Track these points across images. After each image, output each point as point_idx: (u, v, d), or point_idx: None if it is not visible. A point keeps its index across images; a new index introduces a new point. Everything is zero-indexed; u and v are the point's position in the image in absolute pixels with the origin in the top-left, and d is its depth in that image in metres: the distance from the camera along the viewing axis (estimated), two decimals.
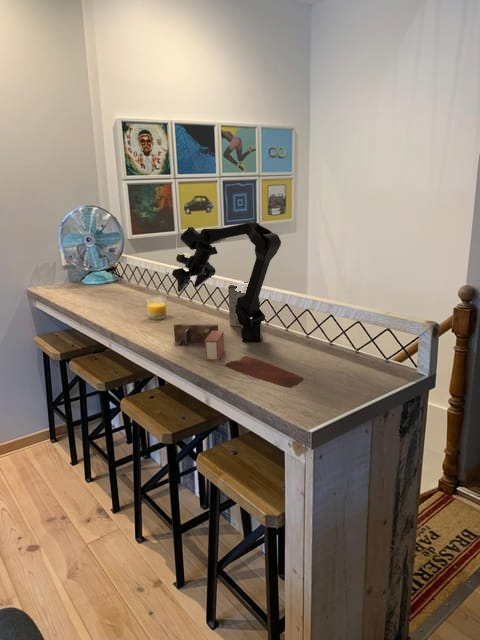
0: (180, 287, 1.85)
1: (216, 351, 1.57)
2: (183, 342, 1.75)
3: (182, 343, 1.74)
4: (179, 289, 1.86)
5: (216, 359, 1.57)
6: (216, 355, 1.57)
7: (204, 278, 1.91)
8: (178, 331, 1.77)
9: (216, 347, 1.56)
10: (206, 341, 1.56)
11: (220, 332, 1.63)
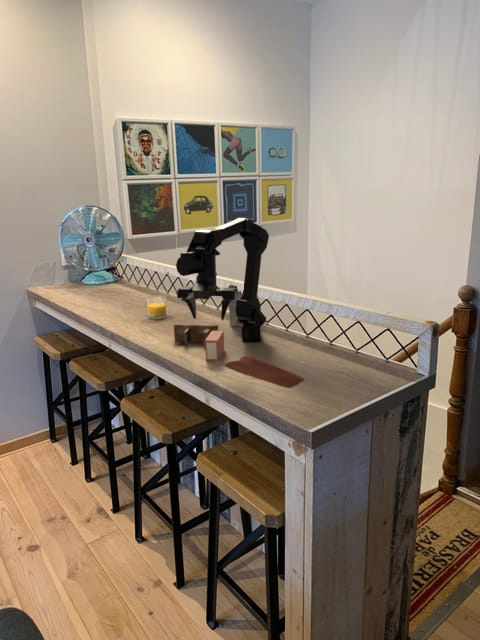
0: (226, 310, 1.56)
1: (216, 351, 1.57)
2: (183, 342, 1.75)
3: (182, 343, 1.74)
4: (224, 315, 1.56)
5: (216, 359, 1.57)
6: (216, 355, 1.57)
7: (194, 299, 1.58)
8: (178, 331, 1.77)
9: (216, 347, 1.56)
10: (206, 341, 1.56)
11: (220, 332, 1.63)
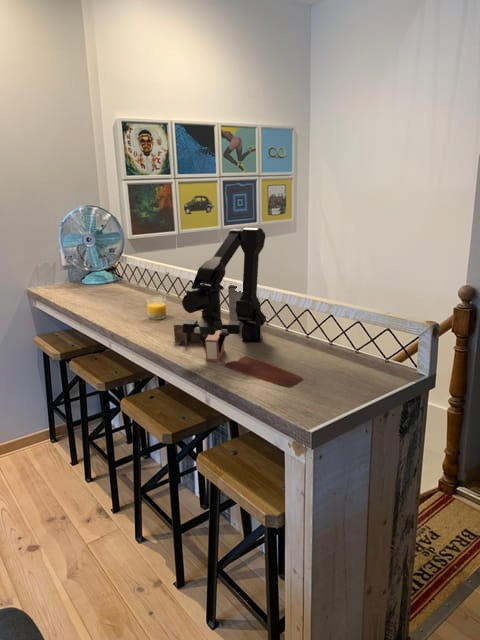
0: None
1: (216, 351, 1.56)
2: (183, 342, 1.75)
3: (182, 343, 1.74)
4: None
5: (216, 359, 1.57)
6: (216, 355, 1.57)
7: None
8: (178, 331, 1.77)
9: (216, 347, 1.56)
10: (206, 341, 1.56)
11: (220, 332, 1.63)
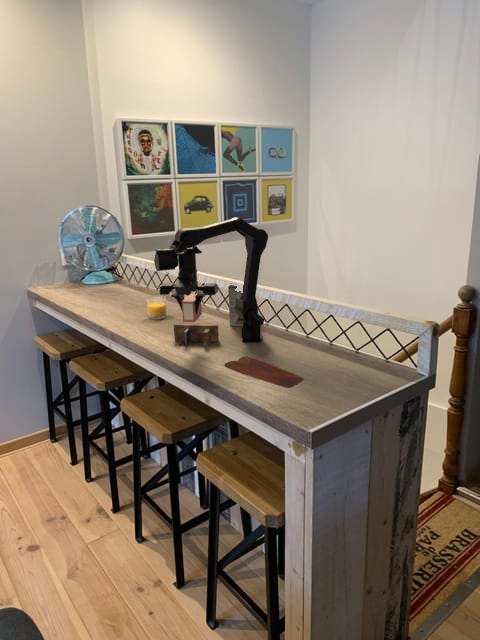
0: (199, 305, 1.64)
1: (192, 312, 1.61)
2: (183, 342, 1.75)
3: (182, 343, 1.74)
4: (198, 309, 1.64)
5: (193, 320, 1.62)
6: (192, 316, 1.62)
7: (183, 295, 1.65)
8: (178, 331, 1.77)
9: (192, 308, 1.61)
10: (183, 302, 1.61)
11: None
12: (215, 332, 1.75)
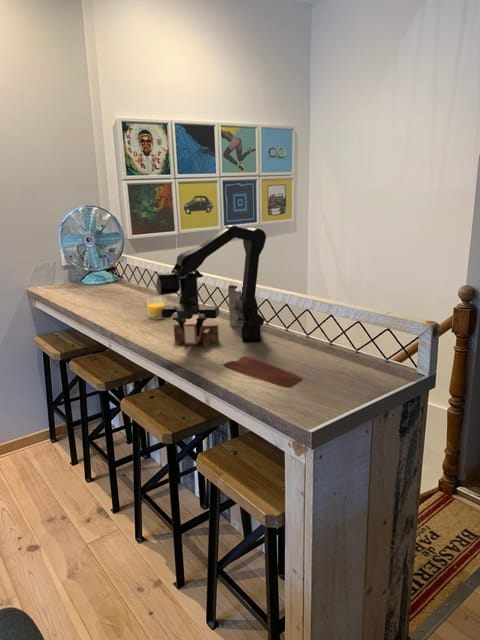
0: (201, 327, 1.66)
1: (194, 335, 1.64)
2: (183, 342, 1.75)
3: (182, 343, 1.74)
4: None
5: (194, 342, 1.65)
6: (194, 338, 1.64)
7: None
8: (178, 331, 1.77)
9: (194, 331, 1.63)
10: (184, 325, 1.63)
11: None
12: (215, 332, 1.75)
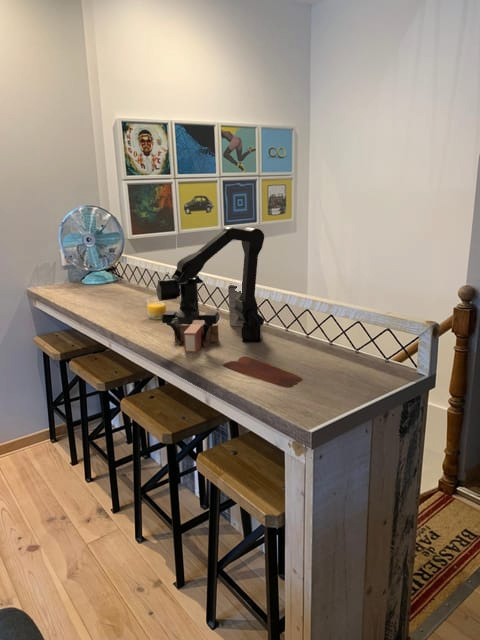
0: (207, 333, 1.66)
1: (194, 343, 1.65)
2: (183, 342, 1.75)
3: (182, 343, 1.74)
4: (206, 337, 1.66)
5: (194, 351, 1.65)
6: (194, 347, 1.65)
7: None
8: None
9: (194, 339, 1.64)
10: (185, 334, 1.64)
11: (199, 325, 1.71)
12: (215, 332, 1.75)
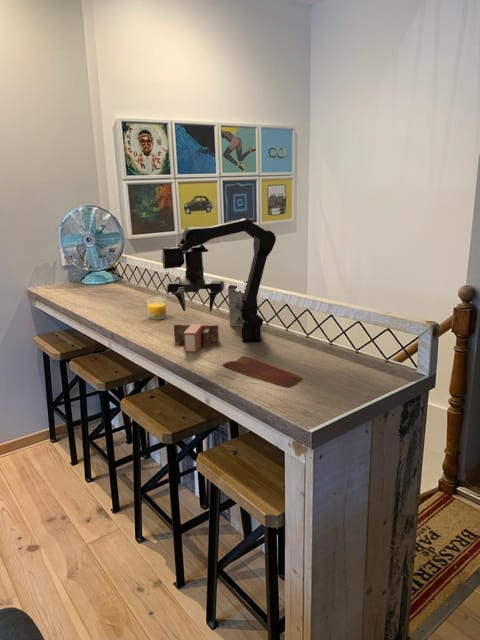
0: (213, 302, 1.67)
1: (194, 343, 1.65)
2: (183, 342, 1.75)
3: (182, 343, 1.74)
4: (212, 306, 1.67)
5: (194, 351, 1.65)
6: (194, 347, 1.65)
7: (183, 293, 1.69)
8: (178, 331, 1.77)
9: (194, 339, 1.64)
10: (185, 334, 1.64)
11: (199, 325, 1.71)
12: (215, 332, 1.75)
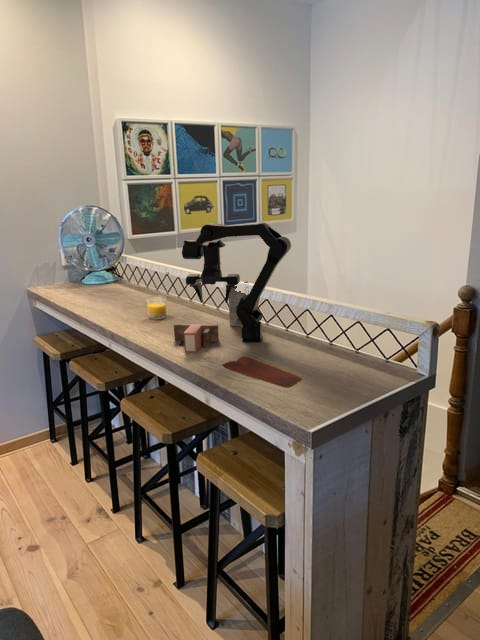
0: (229, 294, 1.76)
1: (194, 343, 1.65)
2: (183, 342, 1.75)
3: (182, 343, 1.74)
4: None
5: (194, 351, 1.65)
6: (194, 347, 1.65)
7: None
8: (178, 331, 1.77)
9: (194, 339, 1.64)
10: (185, 334, 1.64)
11: (199, 325, 1.71)
12: (215, 332, 1.75)
